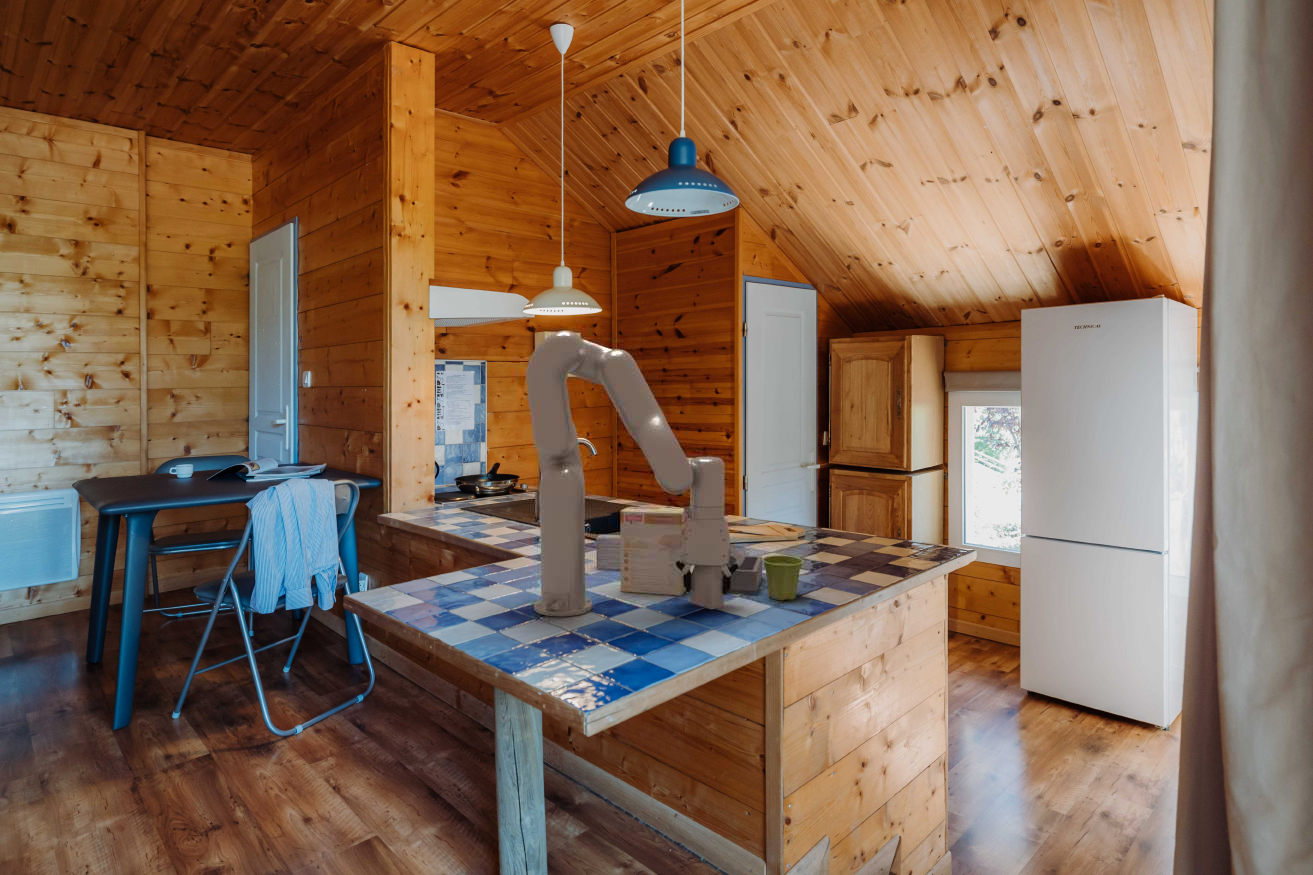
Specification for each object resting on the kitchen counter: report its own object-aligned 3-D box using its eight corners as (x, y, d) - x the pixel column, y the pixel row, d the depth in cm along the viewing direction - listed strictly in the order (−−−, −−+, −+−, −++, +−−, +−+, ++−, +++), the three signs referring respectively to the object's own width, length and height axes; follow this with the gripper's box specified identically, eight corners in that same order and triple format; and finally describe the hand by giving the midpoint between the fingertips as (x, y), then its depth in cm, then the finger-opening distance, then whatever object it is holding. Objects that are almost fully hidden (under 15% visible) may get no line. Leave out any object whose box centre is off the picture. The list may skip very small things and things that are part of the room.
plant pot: (808, 594, 173) (809, 558, 173) (794, 605, 165) (795, 566, 164) (771, 589, 178) (771, 553, 177) (755, 599, 170) (755, 561, 169)
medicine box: (628, 566, 201) (627, 534, 201) (625, 570, 197) (625, 538, 196) (599, 566, 202) (598, 534, 201) (596, 569, 198) (596, 537, 197)
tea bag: (711, 609, 162) (711, 564, 161) (690, 602, 167) (690, 558, 166) (723, 606, 164) (723, 561, 164) (702, 599, 169) (702, 556, 169)
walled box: (756, 594, 173) (756, 571, 173) (696, 591, 176) (696, 568, 176) (762, 578, 189) (762, 556, 188) (707, 575, 192) (707, 553, 191)
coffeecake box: (688, 588, 179) (688, 508, 178) (681, 596, 172) (681, 512, 171) (629, 584, 183) (628, 505, 182) (619, 592, 176) (619, 510, 175)
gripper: (665, 514, 163) (665, 594, 164) (745, 517, 159) (744, 598, 160) (671, 509, 170) (672, 585, 171) (748, 511, 166) (748, 589, 167)
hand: (707, 591), depth 165 cm, fingers closed on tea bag, 7 cm apart
